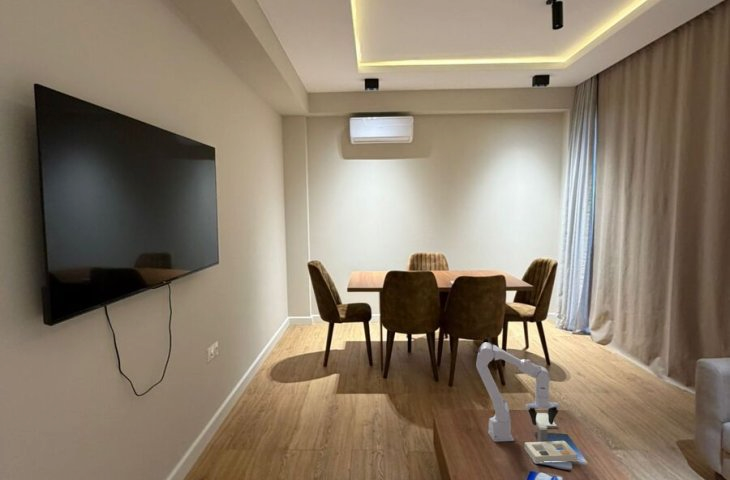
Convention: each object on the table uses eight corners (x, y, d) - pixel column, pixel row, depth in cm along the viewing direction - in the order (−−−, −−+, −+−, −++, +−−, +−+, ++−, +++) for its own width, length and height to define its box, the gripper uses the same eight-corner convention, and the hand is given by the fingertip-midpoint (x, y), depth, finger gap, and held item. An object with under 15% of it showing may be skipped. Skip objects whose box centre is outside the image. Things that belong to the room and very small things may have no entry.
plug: (540, 444, 170) (540, 427, 169) (537, 441, 173) (537, 424, 172) (547, 444, 170) (547, 427, 169) (543, 440, 173) (543, 423, 172)
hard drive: (557, 425, 183) (547, 412, 195) (540, 425, 183) (531, 412, 196) (557, 429, 183) (547, 415, 195) (540, 428, 184) (531, 415, 196)
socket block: (535, 463, 157) (535, 455, 157) (524, 448, 167) (524, 441, 167) (577, 461, 157) (577, 454, 157) (564, 447, 167) (564, 440, 167)
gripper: (530, 399, 166) (530, 429, 167) (562, 398, 166) (562, 427, 167) (523, 392, 173) (523, 420, 174) (554, 391, 173) (554, 419, 174)
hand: (542, 423), depth 171 cm, fingers open, 7 cm apart
